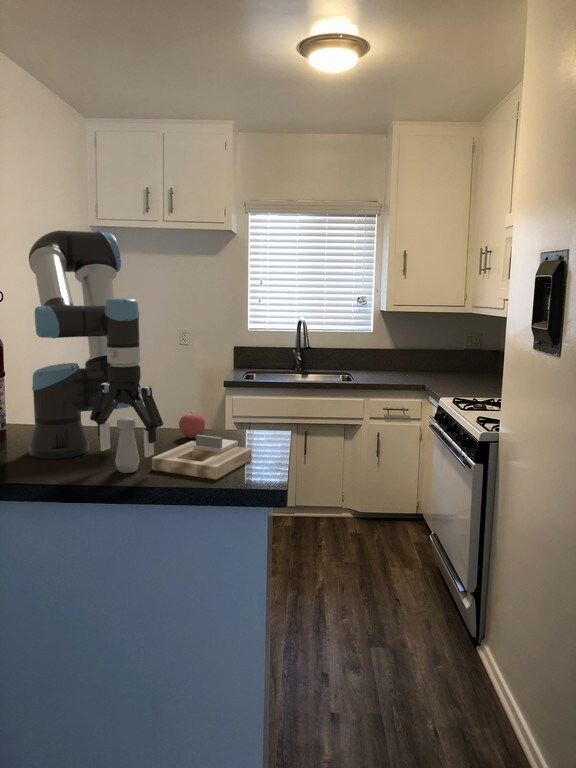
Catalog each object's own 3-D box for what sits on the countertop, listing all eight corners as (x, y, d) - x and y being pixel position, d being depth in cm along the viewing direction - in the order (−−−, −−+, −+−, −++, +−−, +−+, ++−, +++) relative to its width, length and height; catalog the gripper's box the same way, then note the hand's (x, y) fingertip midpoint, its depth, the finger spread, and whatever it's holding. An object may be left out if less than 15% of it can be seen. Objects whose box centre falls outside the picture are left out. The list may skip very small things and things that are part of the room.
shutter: (193, 448, 160) (192, 435, 160) (210, 441, 168) (209, 428, 167) (222, 452, 157) (221, 439, 156) (238, 444, 165) (237, 431, 164)
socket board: (152, 469, 153) (151, 457, 152) (191, 451, 169) (191, 440, 168) (216, 479, 146) (216, 467, 145) (251, 459, 162) (251, 448, 161)
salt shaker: (127, 475, 148) (125, 422, 146) (110, 471, 151) (108, 418, 149) (145, 469, 153) (143, 417, 151) (128, 465, 156) (126, 414, 154)
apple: (191, 442, 179) (191, 414, 177) (174, 438, 183) (173, 411, 182) (210, 437, 184) (210, 410, 183) (193, 433, 189) (192, 407, 188)
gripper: (72, 363, 149) (76, 450, 153) (157, 369, 139) (160, 462, 143) (93, 359, 156) (97, 443, 159) (176, 365, 146) (178, 454, 150)
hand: (127, 452), depth 151 cm, fingers open, 12 cm apart
